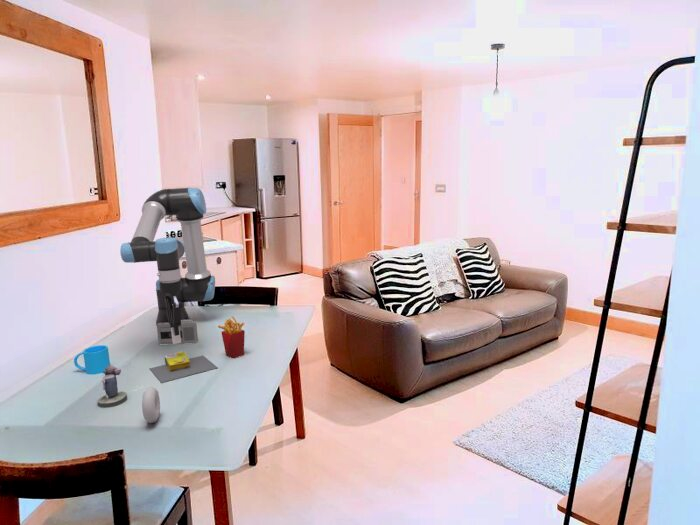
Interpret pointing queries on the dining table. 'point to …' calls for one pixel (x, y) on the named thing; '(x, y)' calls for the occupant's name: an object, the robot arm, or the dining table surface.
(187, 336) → the cassette player
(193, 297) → the robot arm
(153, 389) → the donut
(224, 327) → the french fries
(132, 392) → the dining table surface
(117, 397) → the figurine
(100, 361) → the mug
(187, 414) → the dining table surface
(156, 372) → the mat
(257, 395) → the dining table surface
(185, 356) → the crayon box
